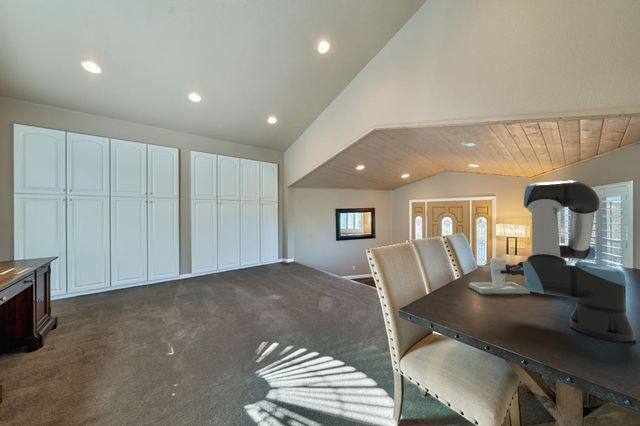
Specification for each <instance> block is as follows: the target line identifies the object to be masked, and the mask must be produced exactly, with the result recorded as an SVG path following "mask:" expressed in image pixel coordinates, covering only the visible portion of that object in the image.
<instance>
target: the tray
mask: <svg viewBox="0 0 640 426" xmlns="http://www.w3.org/2000/svg"><path fill="white" fill-rule="evenodd" d="M468 288H470V289H471V288H472V290H473V289H474V291H475V292H477V293H478V294H481V295H521V294H522V295H524V294H526V295H528V294H529V295H531V291H530V290H528V289H527V287H526V286H525V285H521V284H518V283H515V282H513V281H512V282H511V281H508V282H505V287H504V288H495V287H493V285H492V282H469V283H468Z"/></svg>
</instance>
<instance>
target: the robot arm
mask: <svg viewBox="0 0 640 426" xmlns="http://www.w3.org/2000/svg"><path fill="white" fill-rule="evenodd" d="M600 205H601V204H600V198H599V195H598V194H597V192H596V191H595V189H593V188H592V187H591V186H589V185H587V184H585V182H581V181H577V180H567V181H566V180H565V181H561V180H560V181H549V182H535V183H530V184H527V185H526V187H525V188H524V195H523V208H525V209H527V210H528V212H529V213H530V214H531V254H530V255H529V256H528V257H527V259H526V260H524V261H520V262H518V263H517V264H509V263H507V264H506V269H493V270H494V275H498V274H505V275H511V276H523V277H524V282H525V287H526V288H527V289H528V290H530V292H533V293H538V294H542V295H550V296H559V297H565V298H571V299H572V298H573V299H575V301H576V302H575V307H574V310H573V311H572V314H571V315H570V318H569V326H570V327H571V328H573V330H576V331H577V332H580V333H582V334H584V335H587V336H589V337H594V338H598V339H602V340H606V341H611V342H618V343H630V342H629V341H632V342H634V341H636V333H635V329H634V328H633V326H632V323H631V321H630V319H629V318H628V315H627V294H626V292H627V289H626V288H627V283H626V282H627V281H626V275H625V273H624V272H623V271H622V270H620V269H619V268H616V267H613V266H609V265H604V264H599V263H593V262H588V261H589V260H590V261H593V260H595V258H596V247H595V245H593V244H591V241H592V234H593V226H594V220H595V214H596V212H597V211H599V208H600ZM563 208H568V210H569V211H570V216H569V217H570V220H569V230H568V231H569V232H568V234H569V235H568V243H561V242H560V234H559V233H560V232H559V217H558V215H559V212H561V210H562V209H563ZM566 259H574V260H582V261H575V263H574V265H570V264H569V265H568V264H567V260H566ZM584 260H586V261H587V260H588V261H587V262H586V261H584ZM482 269H483V270H482V272H491V268H490V265H483V267H482Z"/></svg>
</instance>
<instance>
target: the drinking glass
mask: <svg viewBox="0 0 640 426" xmlns="http://www.w3.org/2000/svg"><path fill="white" fill-rule="evenodd" d="M489 266H490V268H491V271H490V274H491V275H490V276H491V283H492V285H493V287H495V288H504V287H505V281H506V274H498V275H494V270H493V269H506V259H504V258H500V257H499V258H494V257H492V258H490V259H489Z"/></svg>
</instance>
